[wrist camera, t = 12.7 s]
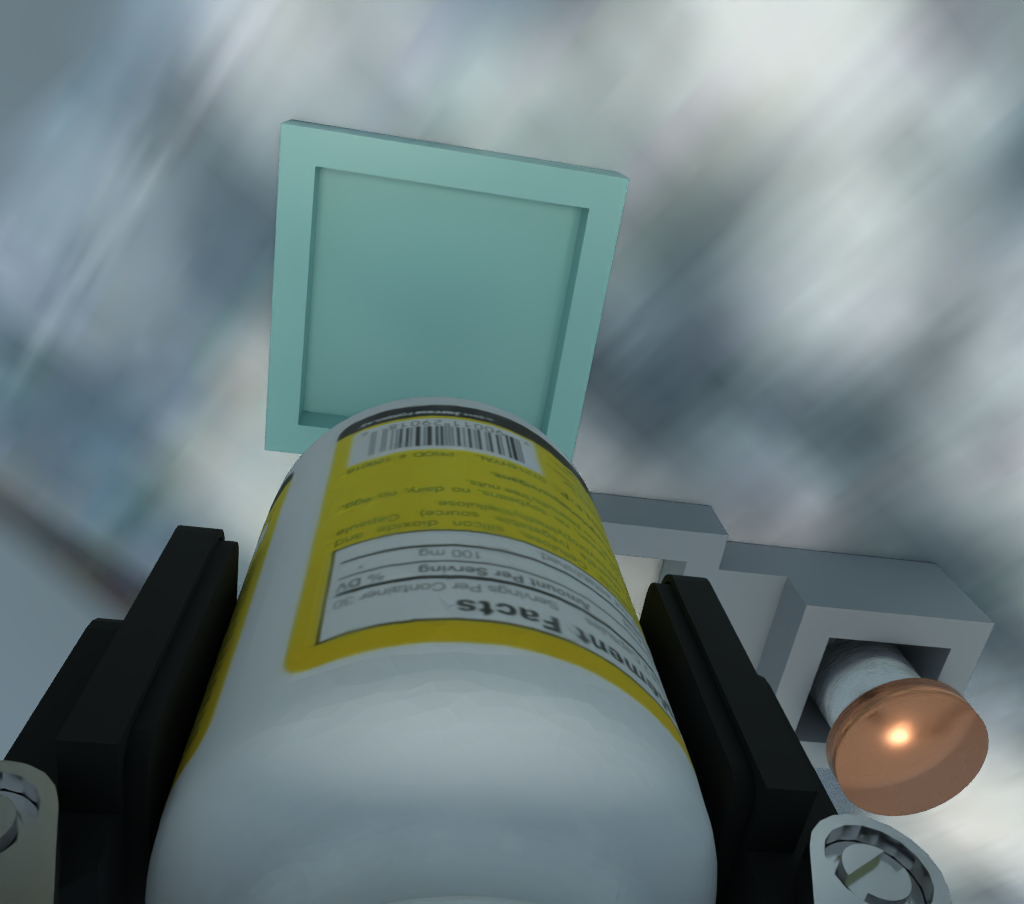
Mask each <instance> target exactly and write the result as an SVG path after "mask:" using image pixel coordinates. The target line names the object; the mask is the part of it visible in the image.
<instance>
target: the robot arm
mask: <svg viewBox="0 0 1024 904" xmlns="http://www.w3.org/2000/svg"><path fill="white" fill-rule="evenodd" d="M238 555H239V547H238V543H237V542H234V541H225V537H224V532H223V530H222V529H213V528H202V527H192V526H182V525H180V526H178V527H177V528H176V529H175V531H174V533H173V535H172V536H171V538H170V540H169V542H168V543H167V545H166V547H165V549H164V550H163V552H162V554H161V556H160V557H159V559H158V561H157V563H156V564H155V566H154V568H153V570H152V571H151V573H150V575H149V577H148V578H147V580H146V582H145V584H144V586H143V587H142V589H141V591H140V593H139V594H138V596H137V598H136V600H135V601H134V603H133V605H132V607H131V608H130V610H129V612H128V614H127V615H126V617H125V619H124V620H114V619H103V618H97V619H95V620H92V622H91V623H90V624H89V625H88V626H87V628H86V629H85V631H84V632H83V634H82V636H81V637H80V639H79V640H78V642H77V644H76V645H75V647H74V648H73V650H72V651H71V653H70V655H69V656H68V658H67V659H66V661H65V663H64V664H63V666H62V667H61V669H60V671H59V672H58V674H57V675H56V677H55V679H54V680H53V682H52V683H51V685H50V687H49V688H48V690H47V691H46V693H45V695H44V696H43V698H42V699H41V701H40V702H39V704H38V706H37V707H36V709H35V710H34V712H33V714H32V715H31V717H30V718H29V720H28V722H27V723H26V725H25V726H24V728H23V730H22V731H21V733H20V734H19V736H18V738H17V739H16V741H15V742H14V744H13V746H12V747H11V749H10V750H9V752H8V753H7V755H6V757H5V758H4V760H0V904H145V895H146V883H147V875H148V869H149V862H150V857H151V853H152V850H153V846H154V842H155V838H156V835H157V831H158V828H159V823H160V818H161V815H162V812H163V809H164V807H165V804H166V801H167V798H168V795H169V792H170V789H171V786H172V783H173V780H174V778H175V775H176V772H177V769H178V766H179V763H180V760H181V758H182V755H183V752H184V749H185V746H186V744H187V741H188V738H189V735H190V733H191V730H192V727H193V724H194V722H195V719H196V716H197V713H198V711H199V708H200V705H201V702H202V700H203V697H204V694H205V691H206V688H207V684H208V682H209V679H210V676H211V674H212V671H213V668H214V665H215V663H216V660H217V656H218V653H219V651H220V648H221V645H222V642H223V639H224V636H225V634H226V631H227V629H228V626H229V623H230V620H231V617H232V614H233V611H234V609H235V606H236V603H237V580H238ZM639 623H640V626H641V629H642V631H643V634H644V637H645V640H646V642H647V645H648V647H649V650H650V652H651V655H652V658H653V661H654V664H655V667H656V669H657V672H658V675H659V678H660V680H661V683H662V686H663V689H664V691H665V694H666V696H667V699H668V701H669V704H670V707H671V709H672V712H673V715H674V717H675V720H676V723H677V726H678V728H679V730H680V733H681V735H682V738H683V740H684V743H685V745H686V748H687V751H688V754H689V756H690V759H691V762H692V765H693V767H694V770H695V773H696V776H697V780H698V783H699V786H700V790H701V793H702V797H703V800H704V804H705V807H706V810H707V813H708V816H709V819H710V823H711V827H712V830H713V836H714V842H715V848H716V857H717V895H716V904H952V901H951V897H950V893H949V889H948V887H947V884H946V882H945V880H944V877H943V875H942V873H941V871H940V870H939V868H938V867H937V866H936V864H935V863H934V862H933V861H932V859H931V858H930V857H929V855H928V854H927V853H926V852H925V851H924V850H922V849H921V848H920V847H919V846H918V845H917V844H916V843H914V842H913V841H912V840H911V839H910V838H908V837H907V836H905V835H903V834H902V833H900V832H899V831H897V830H895V829H894V828H892V827H891V826H888V825H886V824H883V823H881V822H879V821H876V820H874V819H871V818H868V817H862V816H857V815H852V814H844V815H838V813H837V811H836V809H835V807H834V805H833V804H832V802H831V800H830V798H829V796H828V794H827V792H826V790H825V788H824V787H823V785H822V783H821V781H820V779H819V777H818V775H817V773H816V771H815V769H814V768H813V766H812V764H811V762H810V760H809V758H808V756H807V754H806V752H805V751H804V749H803V747H802V745H801V743H800V741H799V739H798V737H797V735H796V733H795V732H794V730H793V728H792V726H791V724H790V722H789V720H788V718H787V716H786V714H785V713H784V711H783V709H782V707H781V705H780V703H779V701H778V699H777V697H776V696H775V694H774V692H773V690H772V688H771V686H770V684H769V683H768V682H767V680H766V679H765V678H764V677H762V676H760V675H758V674H757V672H756V670H755V669H754V667H753V665H752V663H751V661H750V659H749V657H748V655H747V653H746V651H745V649H744V647H743V645H742V643H741V641H740V639H739V638H738V636H737V634H736V632H735V630H734V628H733V626H732V624H731V622H730V620H729V618H728V616H727V614H726V612H725V610H724V608H723V607H722V605H721V603H720V601H719V599H718V597H717V595H716V593H715V591H714V589H713V587H712V585H711V583H710V582H709V580H708V579H707V578H703V577H693V576H683V575H673V574H667V575H665V576H664V578H663V580H662V582H661V583H652V584H650V586H649V588H648V591H647V594H646V598H645V602H644V606H643V610H642V614H641V617H640V621H639Z"/></svg>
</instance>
